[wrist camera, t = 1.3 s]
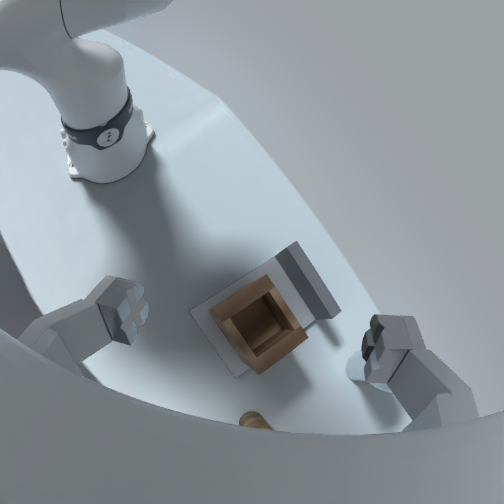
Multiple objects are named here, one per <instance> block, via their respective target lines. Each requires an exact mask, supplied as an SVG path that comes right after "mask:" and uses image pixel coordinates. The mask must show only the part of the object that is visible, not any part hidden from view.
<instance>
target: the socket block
mask: <svg viewBox="0 0 504 504" xmlns="http://www.w3.org/2000/svg"><path fill="white" fill-rule="evenodd" d="M208 312H209V313H210V315H211V316H212V318H213V319H214V321H215V322H216V324H217V325H218V327H219V328H220V330H221V331H222V333H223V334H224V335H225V337H226V338H227V340H228V341H229V343H230V344H231V346H232V347H233V348H234V350H235V351H236V353H237V354H238V356H239V357H240V358H241V360H242V361H243V363H245V364H246V365H247V366H249V367H250V368H251V369H253V370H254V371H255V372H256V373H258V374H261V373H262V372H264V371H265V370H266V369H268V368H269V367H271V366H272V365H273V364H275V363H276V362H277V361H279V360H280V359H281V358H283V357H284V356H285V355H287V354H288V353H289V352H291V351H292V350H293V349H295V348H296V347H297V346H298V345H300V344H301V343H302V342H303V341H305V340H306V339H307V338H309V337H308V336H307V334H306V333H305V331H304V330H303V328H302V327H301V325H300V323H299V322H298V320H297V319H296V317H295V316H294V314H293V313H292V311H291V310H290V308H289V307H288V305H287V304H286V302H285V301H284V299H283V298H282V296H281V295H280V293H279V292H278V290H277V289H276V287H275V285H274V284H273V282H272V281H271V279H270V278H269V276H268V275H267V274H265V275H264V276H262V277H260V278H258V279H257V280H255V281H253V282H251V283H250V284H248V285H247V286H245V287H244V288H242V289H241V290H239V291H238V292H236V293H234V294H233V295H231V296H230V297H228V298H227V299H225V300H224V301H222V302H221V303H219V304H218V305H216V306H214V307H213V308H211V309H210V310H208Z"/></svg>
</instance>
